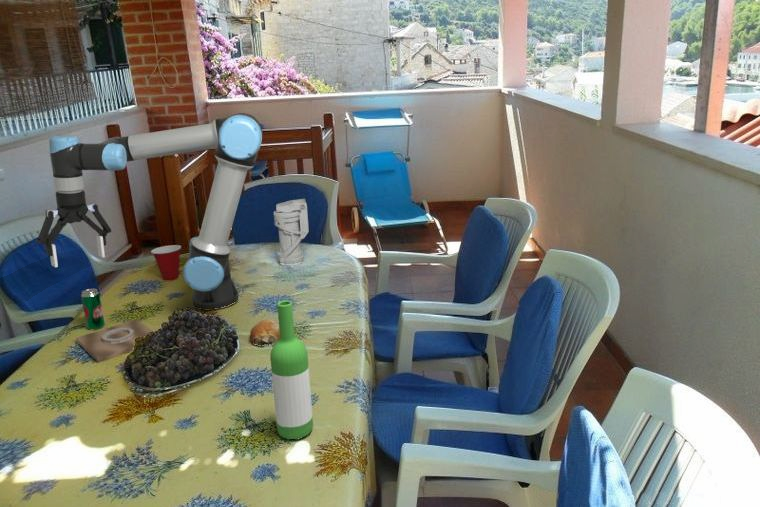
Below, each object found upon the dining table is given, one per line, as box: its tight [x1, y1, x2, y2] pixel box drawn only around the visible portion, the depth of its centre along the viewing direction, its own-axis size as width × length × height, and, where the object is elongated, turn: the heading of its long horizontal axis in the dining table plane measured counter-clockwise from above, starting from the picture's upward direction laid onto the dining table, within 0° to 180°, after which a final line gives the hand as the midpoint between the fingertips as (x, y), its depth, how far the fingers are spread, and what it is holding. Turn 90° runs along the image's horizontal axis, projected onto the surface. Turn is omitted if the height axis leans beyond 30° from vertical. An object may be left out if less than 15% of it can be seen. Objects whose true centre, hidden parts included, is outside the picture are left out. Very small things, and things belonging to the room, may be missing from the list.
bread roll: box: [249, 318, 280, 346], centre depth 173 cm, size 10×10×8 cm
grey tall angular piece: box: [273, 198, 309, 264], centre depth 237 cm, size 13×10×25 cm
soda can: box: [80, 288, 106, 330], centre depth 184 cm, size 5×5×12 cm
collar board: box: [75, 319, 154, 363], centre depth 175 cm, size 18×18×2 cm
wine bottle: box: [269, 300, 314, 440], centre depth 125 cm, size 8×8×30 cm
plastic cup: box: [150, 244, 182, 281], centre depth 225 cm, size 11×11×12 cm
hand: (78, 261), depth 178 cm, fingers open, 13 cm apart
